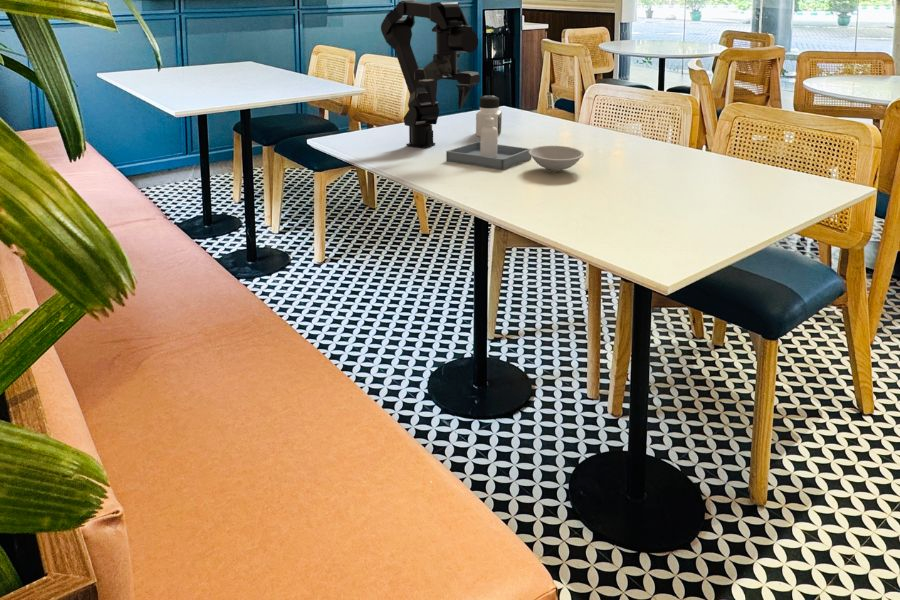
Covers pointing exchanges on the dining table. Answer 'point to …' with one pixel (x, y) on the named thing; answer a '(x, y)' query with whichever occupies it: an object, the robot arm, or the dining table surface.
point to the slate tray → (503, 160)
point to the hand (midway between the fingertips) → (446, 107)
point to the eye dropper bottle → (489, 138)
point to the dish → (556, 157)
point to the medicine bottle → (488, 106)
